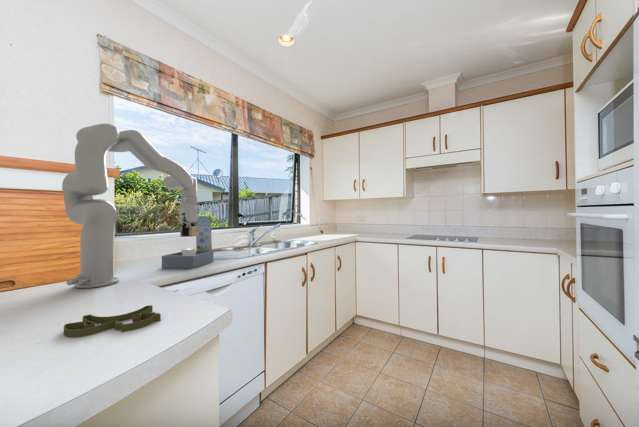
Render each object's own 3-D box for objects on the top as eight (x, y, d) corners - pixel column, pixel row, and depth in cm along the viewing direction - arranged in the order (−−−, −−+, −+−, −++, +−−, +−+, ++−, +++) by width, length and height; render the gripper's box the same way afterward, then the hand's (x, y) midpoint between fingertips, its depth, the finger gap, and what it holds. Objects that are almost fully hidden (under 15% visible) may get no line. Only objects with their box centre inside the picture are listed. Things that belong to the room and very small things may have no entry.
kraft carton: (180, 236, 135) (180, 226, 135) (186, 235, 141) (186, 226, 141) (191, 236, 135) (191, 226, 135) (197, 235, 141) (197, 226, 141)
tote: (193, 268, 127) (193, 256, 127) (161, 268, 128) (161, 255, 128) (213, 261, 147) (213, 250, 147) (185, 261, 148) (185, 250, 148)
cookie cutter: (160, 310, 72) (160, 303, 72) (160, 326, 61) (160, 318, 61) (71, 325, 62) (71, 317, 62) (54, 347, 52) (53, 336, 52)
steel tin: (179, 263, 134) (179, 249, 134) (186, 261, 141) (186, 248, 141) (191, 263, 134) (191, 250, 134) (198, 261, 141) (198, 248, 141)
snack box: (195, 255, 170) (195, 215, 170) (210, 254, 174) (210, 215, 174) (195, 260, 150) (195, 215, 150) (212, 259, 154) (212, 215, 154)
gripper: (191, 201, 147) (191, 234, 147) (171, 199, 130) (171, 236, 129) (204, 201, 146) (204, 234, 146) (186, 199, 129) (186, 236, 129)
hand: (189, 234), depth 138 cm, fingers closed on kraft carton, 6 cm apart
